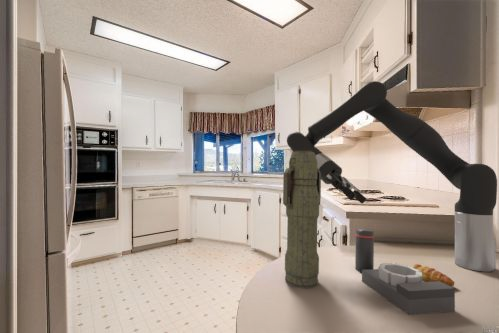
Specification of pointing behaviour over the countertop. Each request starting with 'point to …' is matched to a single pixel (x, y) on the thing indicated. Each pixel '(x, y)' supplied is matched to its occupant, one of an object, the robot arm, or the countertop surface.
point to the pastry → (433, 275)
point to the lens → (364, 250)
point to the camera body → (410, 289)
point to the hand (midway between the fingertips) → (359, 199)
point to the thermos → (302, 218)
